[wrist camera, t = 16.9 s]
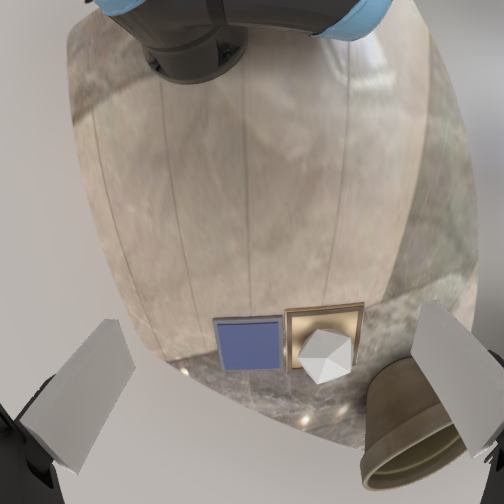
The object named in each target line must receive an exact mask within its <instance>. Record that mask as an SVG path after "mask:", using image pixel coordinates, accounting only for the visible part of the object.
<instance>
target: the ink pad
mask: <svg viewBox="0 0 504 504" xmlns="http://www.w3.org/2000/svg"><path fill="white" fill-rule="evenodd" d="M213 326H214V332H215V337H216V343H217V348H218V353H219V359H220V364H221V369H222V371H263V370H282V369H284V365H283V326H282V315H276V316H258V317H233V318H213Z"/></svg>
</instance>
